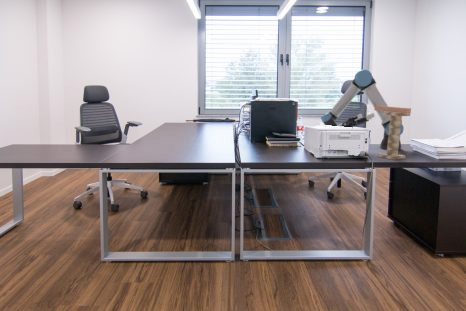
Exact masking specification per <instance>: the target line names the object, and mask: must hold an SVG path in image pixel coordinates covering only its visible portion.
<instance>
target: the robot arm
mask: <svg viewBox="0 0 466 311" xmlns="http://www.w3.org/2000/svg"><path fill="white" fill-rule="evenodd" d="M350 83H351V84H350V86H349V87H348V88H347V90H346V91H345V92H344V94H342V96H341V97H340V98H339V100H338V101H337V102H336V104H334V105H333V107H332V108H331V110H330V111H329V112H326V113H325V114H323V115H322V116H320V119H321V122H322V123H323V125H324V126H325V125H332V126H344V127H352V128H353V127H357V126H360V125H361V124H365V123H367V122H369V121H370V120H371V119H373V118H376V115H375V113H374V112H372V113H371V114H369V115H366V116H365V117H364V116H363V114H362V113H358V114H357V115H355V116H354V117H349V118H347V120H345V121H343V122H341V123H339V124H337V122H336V120H337V119H338V118H339V117H340V116H341V114H342V113H343V111H344V110H345V109H346V108H347V107H348V106H349V104H350V103H351V102H352V101H353V99H354V98H355V97H356V96H357V94H358V93H359V92H362V93H364V94H365V95H366V97H367V99H368V101H369V102H370V104H371V105H372V107H373V108H375V106H388V107H389V105H388V104H387V102H386V101H385V99H384V97H383V95H382V94H381V92H380V91H379V89H378V87H377V82H376V80H375V78H374V76H373V75H372V73H371V71H370V70H368V69H360V70H358V71H357V72H356V73H355V75H354V78H353V80H352V81H351V82H350ZM375 112H376V113H377V115H378V117H379V118H380V120H381V126H382V128H383V137H382V140H381V142H380V145H379V148H380V149H382V150H387V145H388V136H389V126H390V117H391V115H383V111H378V110H375ZM404 129H405V128H404V125H403V120H402V121H401V130H400V136H401V135H402V134H403V132H404ZM401 142H402V141H401V138H400V139H399V148H398V151H401V150H402V143H401Z"/></svg>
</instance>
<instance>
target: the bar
mask: <svg viewBox="0 0 466 311" xmlns="http://www.w3.org/2000/svg"><path fill="white" fill-rule="evenodd" d="M373 108H374V107H373ZM376 110H378V111H388V112H399V113H410V114H412V108H409V107H401V106H400V107H399V106H398V107H397V106H389V105H388V106H375V108H374V110H373V111H376Z"/></svg>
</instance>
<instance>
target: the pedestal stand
mask: <svg viewBox="0 0 466 311" xmlns="http://www.w3.org/2000/svg"><path fill="white" fill-rule="evenodd" d="M383 115H391V117H390V126H389V136H388V145H387V149H386V152H384V153H383V152H382V153H378V158H382V159H388V160H394V161H396V160H405V159H406V155H405V154H399V150H398V148H399V139H400V140H401V135H400V130H401V121H402V122H403V120H402V119H403V117H410V116H411V113H399V112H388V111H383Z"/></svg>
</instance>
